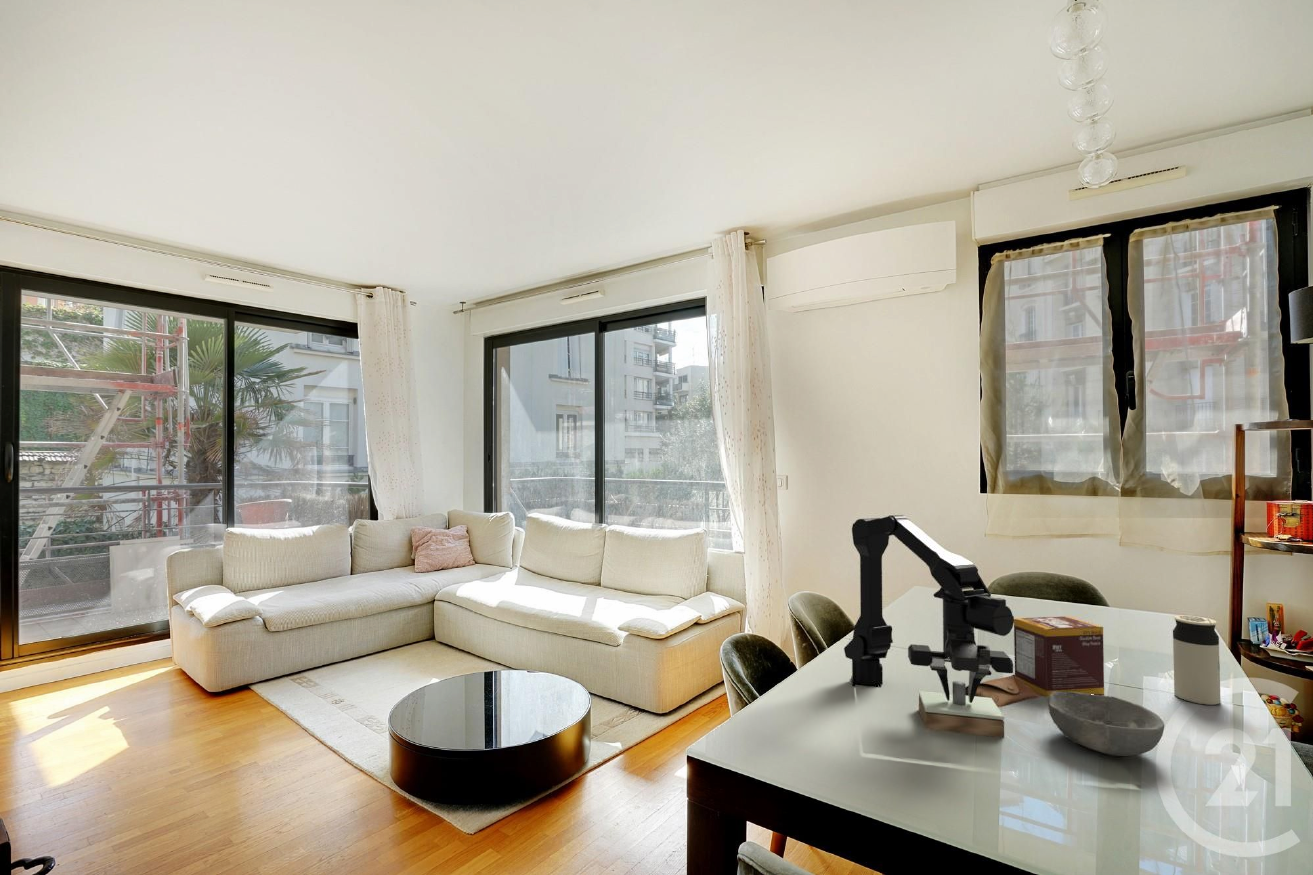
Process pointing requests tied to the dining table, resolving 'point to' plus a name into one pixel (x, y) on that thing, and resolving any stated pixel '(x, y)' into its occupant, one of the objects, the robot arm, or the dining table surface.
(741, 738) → the dining table surface
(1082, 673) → the supplement box
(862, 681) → the robot arm
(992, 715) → the lid
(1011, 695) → the sunglasses case
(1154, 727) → the bowl
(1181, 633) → the travel mug
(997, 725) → the box
